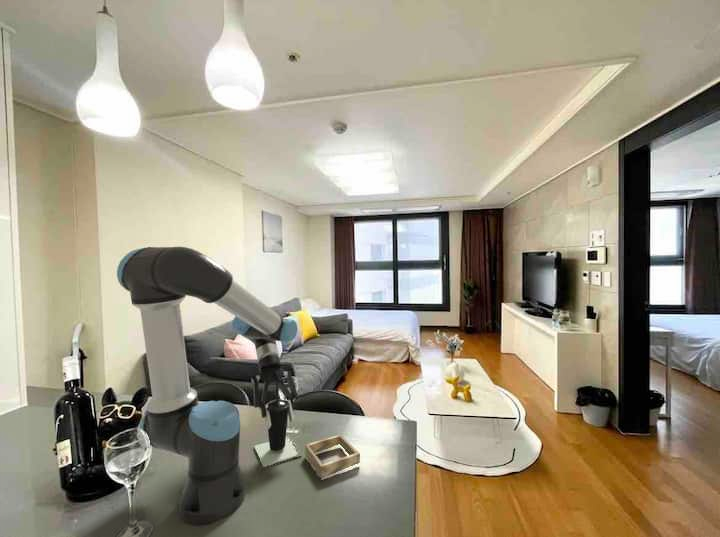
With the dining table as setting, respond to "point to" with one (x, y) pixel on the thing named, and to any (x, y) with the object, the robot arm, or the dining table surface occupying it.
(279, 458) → the sage mat
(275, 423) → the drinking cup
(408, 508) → the dining table surface
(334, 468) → the oak crate frame
